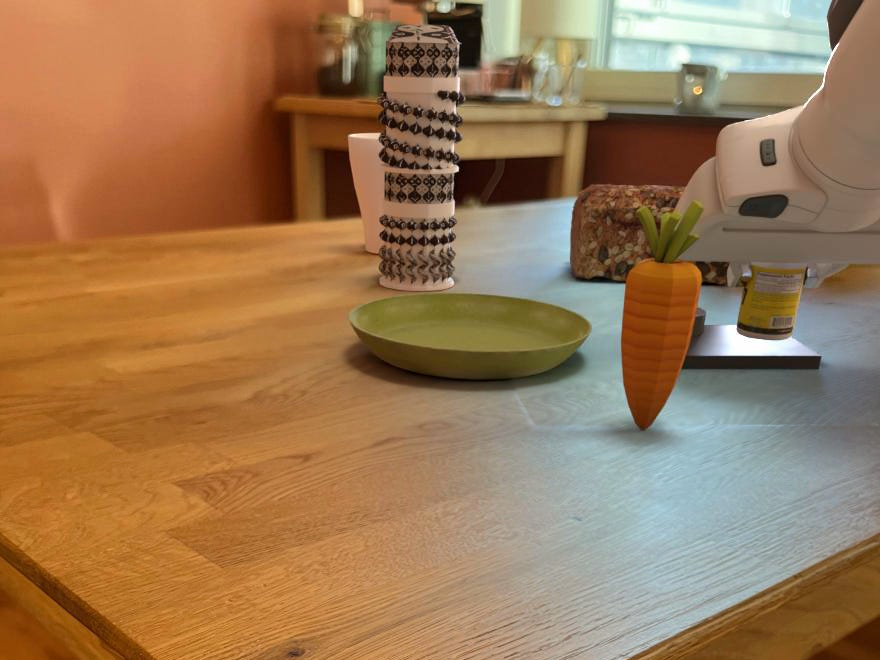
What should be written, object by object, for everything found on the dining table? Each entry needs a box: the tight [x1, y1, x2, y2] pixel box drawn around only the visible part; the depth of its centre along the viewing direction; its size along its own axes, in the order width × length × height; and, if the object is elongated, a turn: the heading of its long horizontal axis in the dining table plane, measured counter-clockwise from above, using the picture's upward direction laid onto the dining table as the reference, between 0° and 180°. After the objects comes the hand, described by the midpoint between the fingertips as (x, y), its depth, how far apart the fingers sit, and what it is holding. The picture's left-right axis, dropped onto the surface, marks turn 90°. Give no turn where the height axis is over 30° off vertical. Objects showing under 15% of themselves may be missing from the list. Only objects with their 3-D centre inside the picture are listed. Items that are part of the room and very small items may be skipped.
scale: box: [681, 306, 823, 370], centre depth 90 cm, size 14×12×3 cm
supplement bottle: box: [736, 262, 807, 340], centre depth 86 cm, size 5×5×8 cm
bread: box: [569, 183, 729, 285], centre depth 119 cm, size 19×11×10 cm, turn 87°
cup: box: [347, 132, 385, 255], centre depth 129 cm, size 10×10×14 cm
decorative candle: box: [376, 23, 467, 292], centre depth 108 cm, size 9×9×25 cm
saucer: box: [347, 292, 593, 381], centre depth 87 cm, size 21×21×3 cm
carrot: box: [620, 201, 704, 432], centre depth 68 cm, size 5×5×15 cm
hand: (770, 280), depth 86 cm, fingers closed on supplement bottle, 5 cm apart
